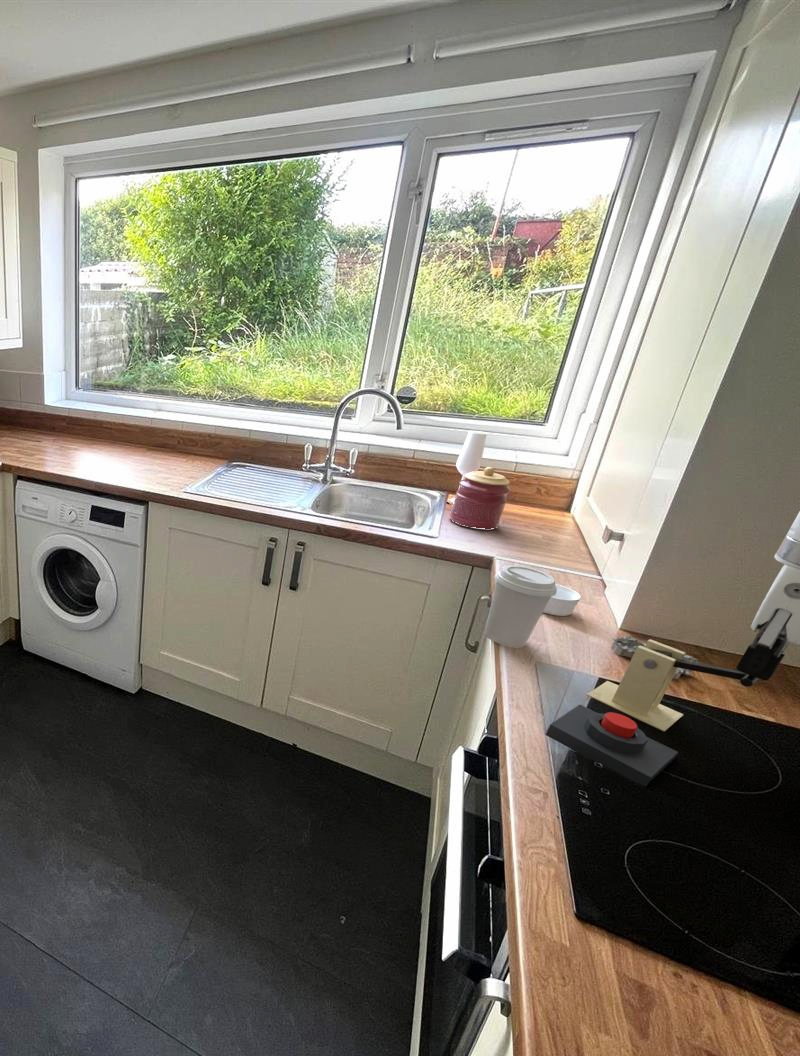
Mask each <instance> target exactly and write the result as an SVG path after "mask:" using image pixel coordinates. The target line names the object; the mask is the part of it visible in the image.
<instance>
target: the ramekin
mask: <svg viewBox="0 0 800 1056" xmlns="http://www.w3.org/2000/svg"><path fill="white" fill-rule="evenodd" d="M555 585H556V588H557V593H556V594H555V595H553V596H551V598H550V600H549V601H548V603H547V605H546V607H545V609H544V611H543V612H542V613H544V614H547V615H551V616H557V617H567V616H569V615H571V614H572V613H573V612H574V610H575V608H576V606H577V604H578V603H579V602H580V600H581V599H582V596H581V594H580V593H578V592H577V591H575V590H574V589H572V588H570V587H567V586H564V585H561V584H559V583H555Z"/></svg>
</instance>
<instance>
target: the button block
mask: <svg viewBox="0 0 800 1056" xmlns="http://www.w3.org/2000/svg"><path fill="white" fill-rule="evenodd" d="M605 714H606V713H599V712H596V711H594V710H593V709H590V708H588V707H587V706H584V705H582V704H578V705H577V706H575V707H573V708H572V709H571V710H569V711H568V712H566V713H565V714H563V715H562V716H561V717H559V718H557V719H556V720H554V721H553V722H551V723H550V724H549V726H548V728H547V731H546V733H545V736H546V737H548V738H550V739H551V740H554V741H555V742H557V743H560V744H561V745H563V746H565V747H566V748H569V749H571V750H572V751H574V752H576V753H577V754H579V753H580V754H579V755H581V754H582V755H581V756H583V755H584V756H583V757H585V756H586V757H585V758H587V757H588V758H587V759H589V758H590V759H591V761H592V760H593V761H592V762H594V761H596V762H598V763H601V764H602V765H604V766H606V767H608V768H610V769H612V770H614V771H616V772H618V773H620V774H622V775H623V776H625V777H627V778H628V779H630V780H632V781H634V782H636V783H639V784H641V785H644V786H647V785H648V784H650V782H651V781H653V780H654V779H655V778H656V777H657V776H658V775H659V774H660V773H661V772H662V771H663V770H665V769H666V768H667V766H669V765H670V764H671V763H672V762H673V761H674V760H675V759H676V757H677V756H678V754H679V752H678V751H677V750H675V749H673V748H671V747H669V746H667V745H664V744H663V743H661V742H659V741H656V740H654V739H652V738H650V737H648V736H647V735H646V733H645V732H644V731H643V730H641V729H640V728H639V727H637V729H636V731H635V733H634V735H633V737H631V738H624V737H621V736H617V735H615V734H613V733H611V732H609V731H607V730H606V729H604V728H603V727H602V726H601V722H602V720H603V718H604V716H605ZM590 759H589V760H590ZM596 762H595V763H596ZM598 763H597V764H598ZM602 765H601V766H602Z"/></svg>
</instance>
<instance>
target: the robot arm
mask: <svg viewBox="0 0 800 1056" xmlns="http://www.w3.org/2000/svg"><path fill="white" fill-rule="evenodd" d="M773 558H774V559H775V560H776V561H777V562H779V563H781V564H782V565H783V566H782V567H781V569H780V570H779V572H778V574H777V575H776V577H775V579H774V581H773V582H772V584H771V586H770V588H769V590H768V591H767V593H766V595H765V596H764V599H763V601H762V603H761V604H760V605H759V608H758V610H757V612H756V614H755V617H754V618H753V620H752V623H751V625H750V629H751V630H752V631H753V632H754V633H756V632H757V634H756V635H755V637H754V639H753V641H752V642H751V643H750V644H749V645H748V647H747V648H746V650H745V651H744V653H743V655H742V656H741V658H740V660H739V662H738V663H737V665H736V668H735V670H738V671H740V672H743V673H746V674H748V675H751V676H754V677H756V678H759V679H758V680H762V681H769V679H771V678H772V676H773V675H774V674H775V672H776V670H777V668H778V667H779V665H780V664H781V662H782V660H783V659H784V657H785V655H786V654H785V651H786V650H787V649H788V647H789V645H790V644H791V643H792V644H793V646H795V647H800V511H799V512H798V513H797V515H796V517H795V519H794V521H793V522H792V524H791V526H790V528H789V529H788V532H787V533H786V534H785V537H784V538H783V539H782V542H781V544H780V546H779V547H778V549H777V551H776V552H775V554H774V557H773Z"/></svg>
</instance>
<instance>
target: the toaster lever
mask: <svg viewBox="0 0 800 1056" xmlns="http://www.w3.org/2000/svg"><path fill="white" fill-rule="evenodd" d="M648 649H649V648H648ZM650 650H653V651H656V652H658V653H661V654H663V655H666V656H668V657H671V658H672V653H671V652H665V651H660V650H654V649H650ZM673 659H674V658H673ZM673 667H677V668H682V669H687V670H692V671H693V672H698V673H704V674H708V675H712V676H713V675H714V676H718V677H723V678H729V679H732V680H733V679H734V680H740V681H739V682H740V685H741V686H744V687H746V688H747V687H752V686H753V685H755V683H756V682H757V681H759V680H760V679H759V678H756V677H754V676H751V675H748V674H746V673H743V672H740V671H738V670H737V669H731V668H728V667H727V668H726V667H722V666H721V667H720V666H717V665H716V666H715V665H710V664H705V663H700V662H699V663H695V662H690V661H684V660H679V659H676V661H675V663H674V665H673ZM692 671H691V672H692Z"/></svg>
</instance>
